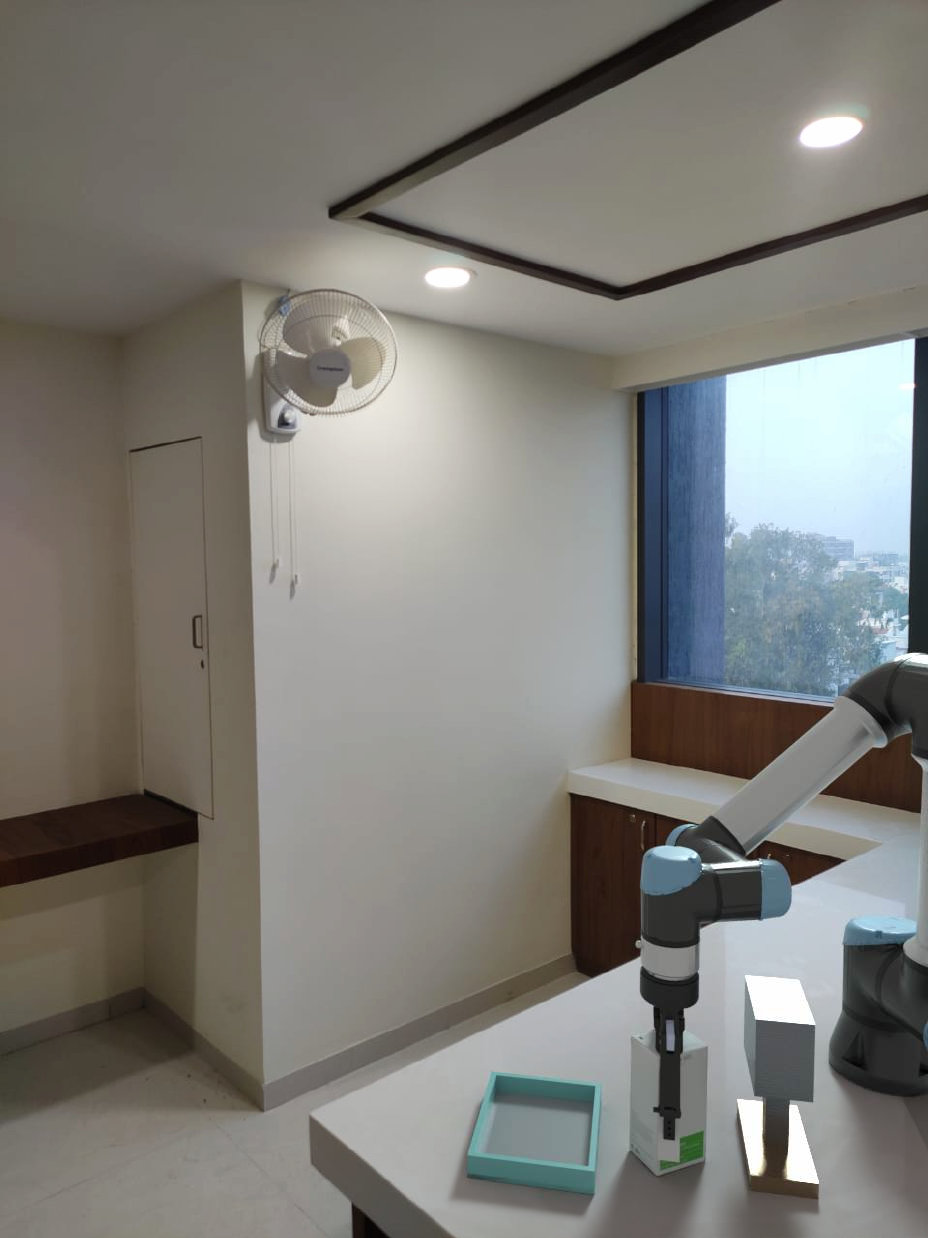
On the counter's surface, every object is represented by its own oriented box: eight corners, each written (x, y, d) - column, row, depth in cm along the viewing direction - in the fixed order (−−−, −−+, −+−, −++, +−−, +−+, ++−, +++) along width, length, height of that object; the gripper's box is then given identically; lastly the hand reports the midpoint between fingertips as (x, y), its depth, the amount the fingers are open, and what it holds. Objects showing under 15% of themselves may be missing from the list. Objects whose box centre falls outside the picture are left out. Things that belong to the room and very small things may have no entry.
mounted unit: (796, 1119, 126) (799, 973, 124) (818, 1199, 110) (822, 1033, 109) (737, 1113, 127) (739, 968, 126) (750, 1190, 112) (753, 1027, 110)
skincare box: (655, 1179, 114) (657, 1060, 113) (625, 1147, 120) (627, 1034, 119) (708, 1160, 117) (710, 1045, 116) (677, 1131, 123) (678, 1021, 122)
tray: (601, 1103, 129) (601, 1083, 129) (594, 1195, 111) (594, 1171, 111) (491, 1091, 133) (491, 1071, 132) (467, 1178, 114) (467, 1155, 114)
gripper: (640, 931, 128) (638, 1082, 130) (639, 1007, 107) (637, 1187, 108) (694, 935, 127) (691, 1088, 128) (705, 1013, 105) (702, 1196, 107)
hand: (667, 1133), depth 118 cm, fingers closed on skincare box, 10 cm apart
